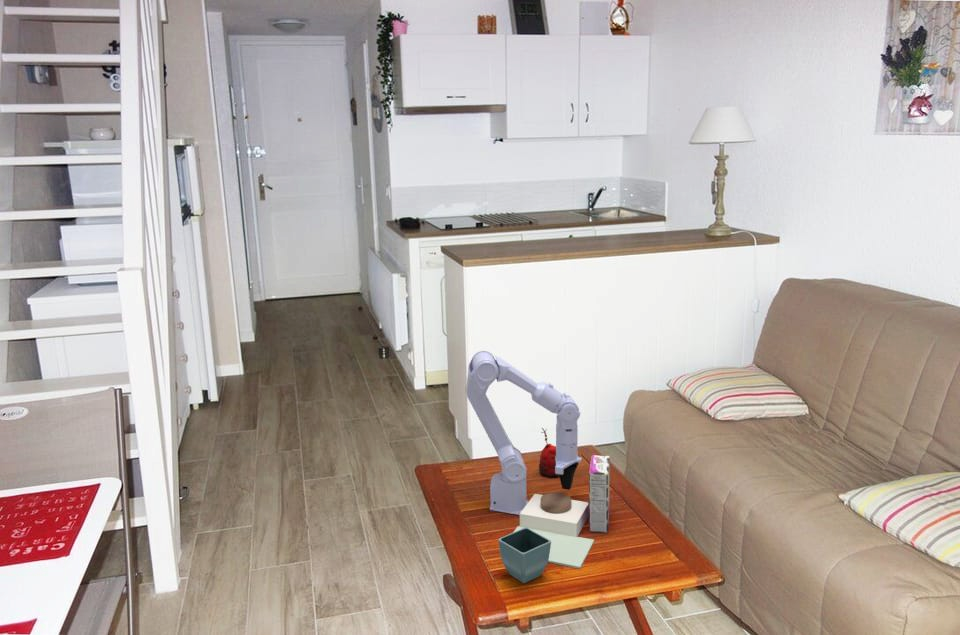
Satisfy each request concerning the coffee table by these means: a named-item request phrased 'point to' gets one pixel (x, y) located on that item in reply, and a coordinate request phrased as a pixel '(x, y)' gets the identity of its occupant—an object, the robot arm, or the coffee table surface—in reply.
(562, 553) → the placemat
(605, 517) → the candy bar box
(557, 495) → the coaster
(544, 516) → the riser
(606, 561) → the coffee table surface
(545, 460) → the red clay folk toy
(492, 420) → the robot arm
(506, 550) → the flower pot
